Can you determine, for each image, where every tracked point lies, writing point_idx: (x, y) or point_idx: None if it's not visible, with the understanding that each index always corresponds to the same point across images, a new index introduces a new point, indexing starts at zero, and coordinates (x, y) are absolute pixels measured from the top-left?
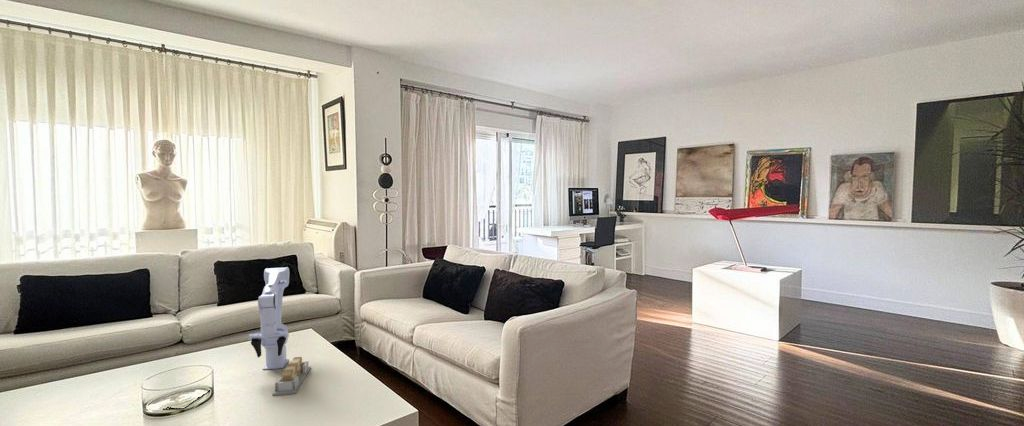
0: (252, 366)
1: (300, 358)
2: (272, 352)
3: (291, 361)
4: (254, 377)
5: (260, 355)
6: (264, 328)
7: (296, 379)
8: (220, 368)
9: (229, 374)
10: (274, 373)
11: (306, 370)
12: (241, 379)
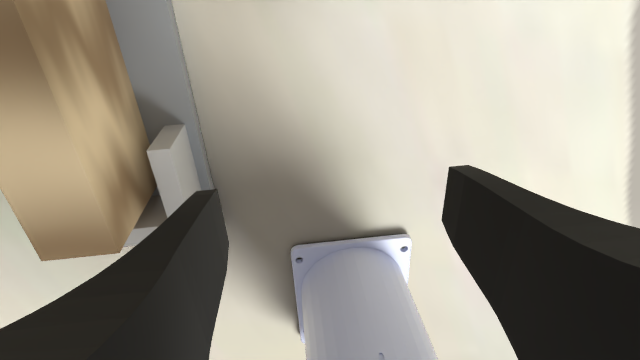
0: None
1: (20, 222)
2: (374, 336)
3: (71, 152)
4: (428, 130)
5: (447, 205)
6: None
7: None
8: None
9: (587, 190)
10: (312, 179)
11: None
12: (507, 107)
